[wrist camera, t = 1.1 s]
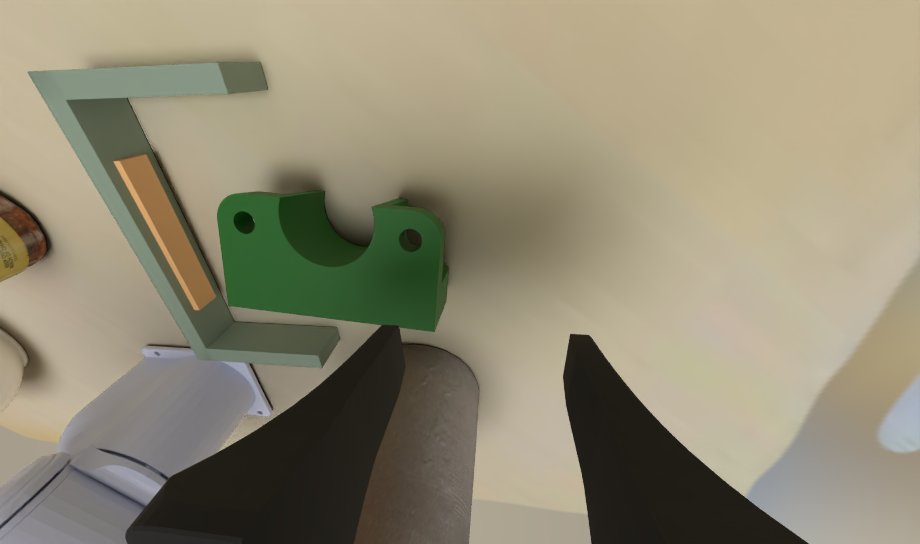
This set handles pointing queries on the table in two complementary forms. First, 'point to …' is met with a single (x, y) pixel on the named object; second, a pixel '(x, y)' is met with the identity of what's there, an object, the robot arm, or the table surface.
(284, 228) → the clamp
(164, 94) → the bracket
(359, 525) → the pillar candle
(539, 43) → the table surface
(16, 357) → the lidded bowl
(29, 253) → the sauce bottle
